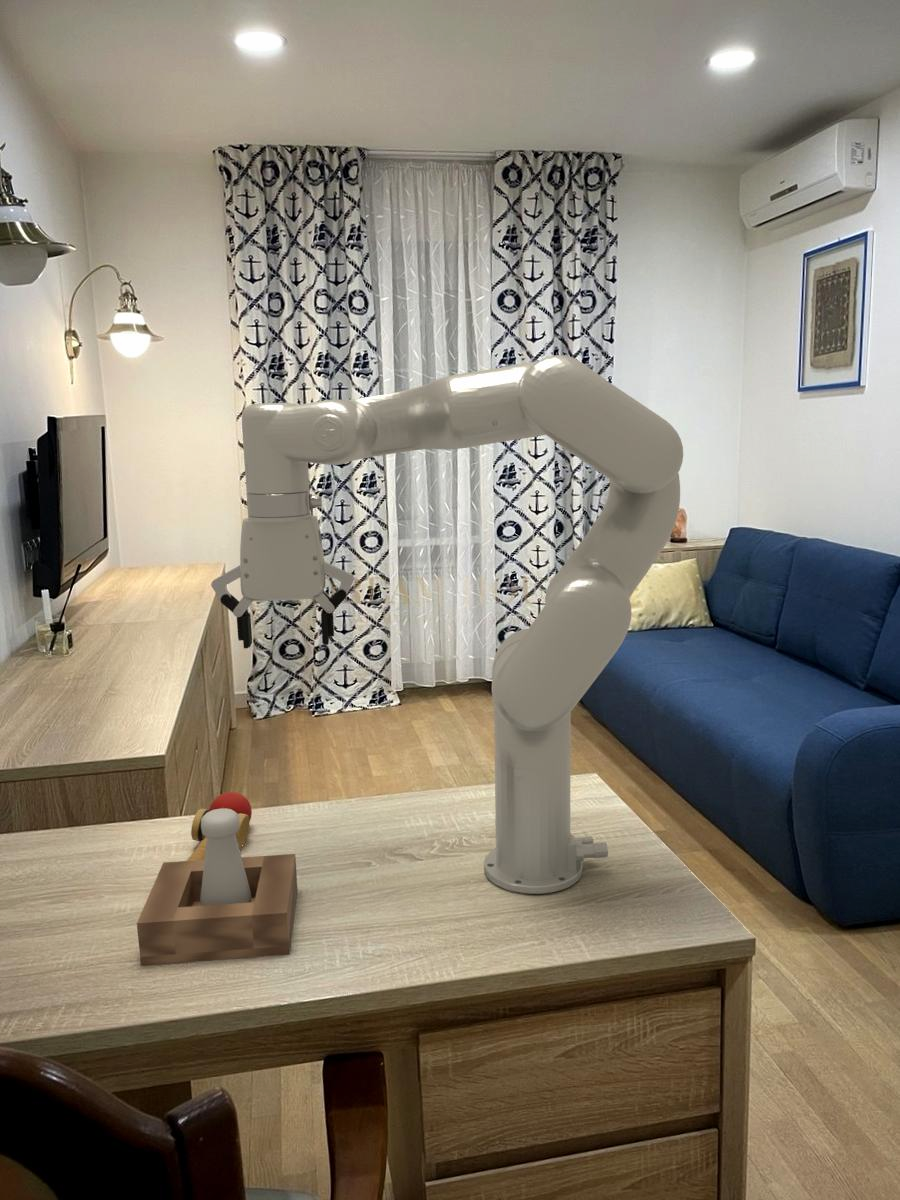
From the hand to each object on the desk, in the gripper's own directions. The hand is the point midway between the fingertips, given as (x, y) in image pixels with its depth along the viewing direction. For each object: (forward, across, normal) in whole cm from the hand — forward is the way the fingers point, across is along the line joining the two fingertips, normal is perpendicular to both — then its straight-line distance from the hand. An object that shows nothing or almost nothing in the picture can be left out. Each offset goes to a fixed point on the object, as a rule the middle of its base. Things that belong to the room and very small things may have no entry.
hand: (287, 644), depth 117 cm
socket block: (+30, +8, +13) cm, 34 cm away
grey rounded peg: (+30, +8, +13) cm, 33 cm away
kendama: (+31, +12, -6) cm, 33 cm away
